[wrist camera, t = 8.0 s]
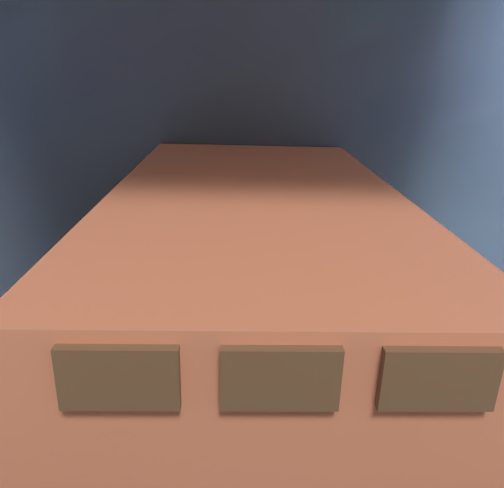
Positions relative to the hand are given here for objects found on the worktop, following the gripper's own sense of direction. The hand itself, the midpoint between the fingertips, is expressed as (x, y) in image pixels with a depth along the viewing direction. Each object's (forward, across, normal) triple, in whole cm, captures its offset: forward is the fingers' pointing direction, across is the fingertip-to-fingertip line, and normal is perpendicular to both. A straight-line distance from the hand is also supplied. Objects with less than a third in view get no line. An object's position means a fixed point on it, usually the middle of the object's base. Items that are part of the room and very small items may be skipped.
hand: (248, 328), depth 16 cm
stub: (+2, 0, +2) cm, 3 cm away
